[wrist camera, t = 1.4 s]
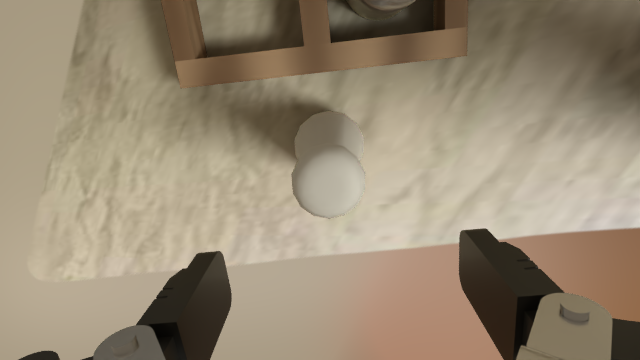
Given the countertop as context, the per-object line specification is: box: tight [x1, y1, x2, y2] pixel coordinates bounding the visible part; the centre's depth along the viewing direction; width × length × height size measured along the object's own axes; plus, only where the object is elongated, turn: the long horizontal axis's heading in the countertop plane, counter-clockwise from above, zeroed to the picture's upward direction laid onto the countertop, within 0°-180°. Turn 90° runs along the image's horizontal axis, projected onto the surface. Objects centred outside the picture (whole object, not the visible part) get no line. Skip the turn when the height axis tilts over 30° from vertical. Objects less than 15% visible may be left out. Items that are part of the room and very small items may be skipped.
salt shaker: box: [292, 111, 365, 219], centre depth 26 cm, size 6×6×13 cm
